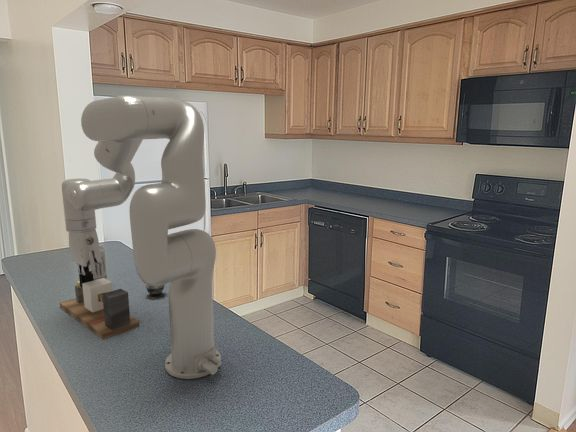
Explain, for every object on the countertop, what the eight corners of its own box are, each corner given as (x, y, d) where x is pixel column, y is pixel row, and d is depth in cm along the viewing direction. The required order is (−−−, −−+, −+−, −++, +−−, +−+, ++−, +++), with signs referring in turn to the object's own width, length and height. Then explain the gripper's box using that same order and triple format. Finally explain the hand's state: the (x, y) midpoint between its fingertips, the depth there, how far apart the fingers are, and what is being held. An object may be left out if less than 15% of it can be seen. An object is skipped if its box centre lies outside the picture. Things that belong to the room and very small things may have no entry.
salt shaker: (159, 300, 131) (157, 263, 129) (142, 298, 132) (140, 262, 130) (168, 293, 137) (166, 258, 134) (152, 291, 138) (149, 256, 135)
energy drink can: (93, 294, 136) (89, 249, 132) (84, 289, 139) (80, 245, 136) (111, 288, 140) (107, 245, 137) (101, 284, 144) (97, 242, 141)
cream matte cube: (113, 305, 119) (111, 282, 118) (92, 312, 115) (90, 288, 113) (105, 300, 122) (103, 277, 121) (84, 307, 118) (82, 283, 116)
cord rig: (139, 326, 115) (136, 289, 112) (103, 339, 107) (99, 301, 105) (93, 297, 133) (90, 265, 131) (60, 307, 126) (56, 274, 123)
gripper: (107, 226, 113) (112, 290, 117) (83, 217, 123) (89, 277, 127) (78, 231, 108) (85, 298, 112) (55, 221, 118) (62, 283, 122)
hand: (87, 286), depth 120 cm, fingers closed
